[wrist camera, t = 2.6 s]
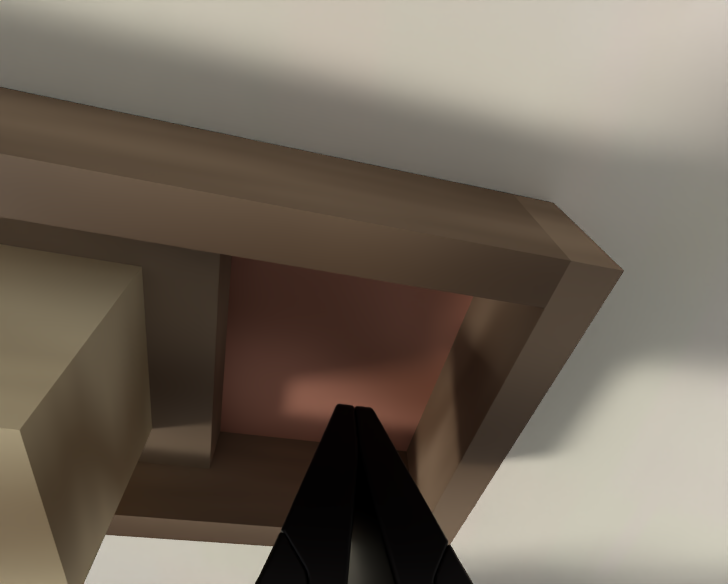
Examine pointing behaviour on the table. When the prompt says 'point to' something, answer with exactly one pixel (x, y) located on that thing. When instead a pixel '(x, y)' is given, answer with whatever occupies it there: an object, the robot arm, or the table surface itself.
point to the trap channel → (301, 307)
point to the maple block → (67, 408)
